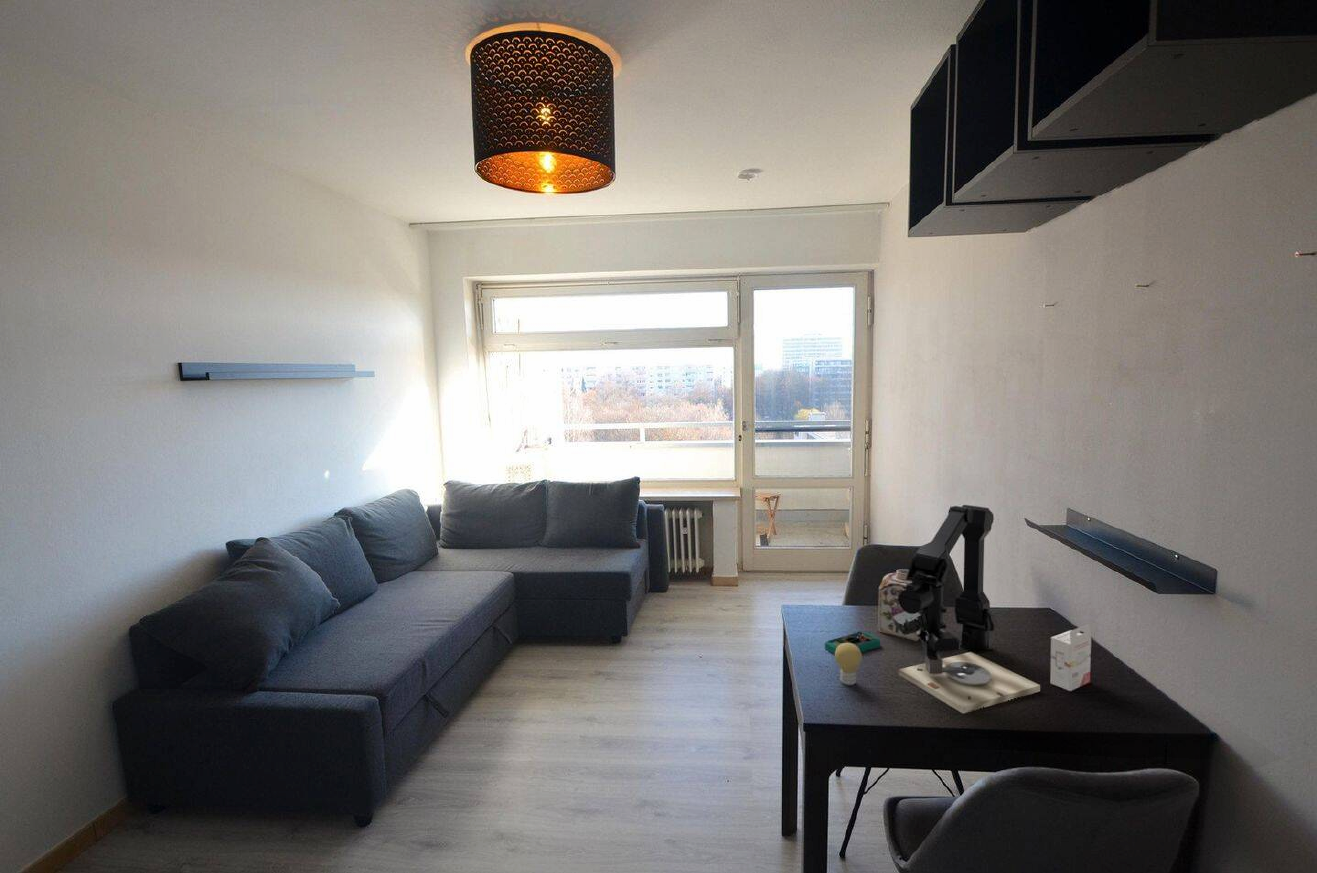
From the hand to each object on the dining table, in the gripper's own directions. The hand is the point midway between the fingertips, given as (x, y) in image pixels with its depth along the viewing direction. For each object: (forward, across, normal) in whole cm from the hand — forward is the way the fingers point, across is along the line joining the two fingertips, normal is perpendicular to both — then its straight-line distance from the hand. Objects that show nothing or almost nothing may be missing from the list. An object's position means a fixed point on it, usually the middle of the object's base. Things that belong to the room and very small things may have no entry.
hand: (929, 661), depth 158 cm
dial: (+2, +4, +5) cm, 7 cm away
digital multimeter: (+5, -18, -13) cm, 23 cm away
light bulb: (+4, +1, -21) cm, 21 cm away
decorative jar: (+5, -28, +6) cm, 29 cm away
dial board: (+4, +4, +8) cm, 9 cm away
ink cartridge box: (+4, +6, +32) cm, 33 cm away
